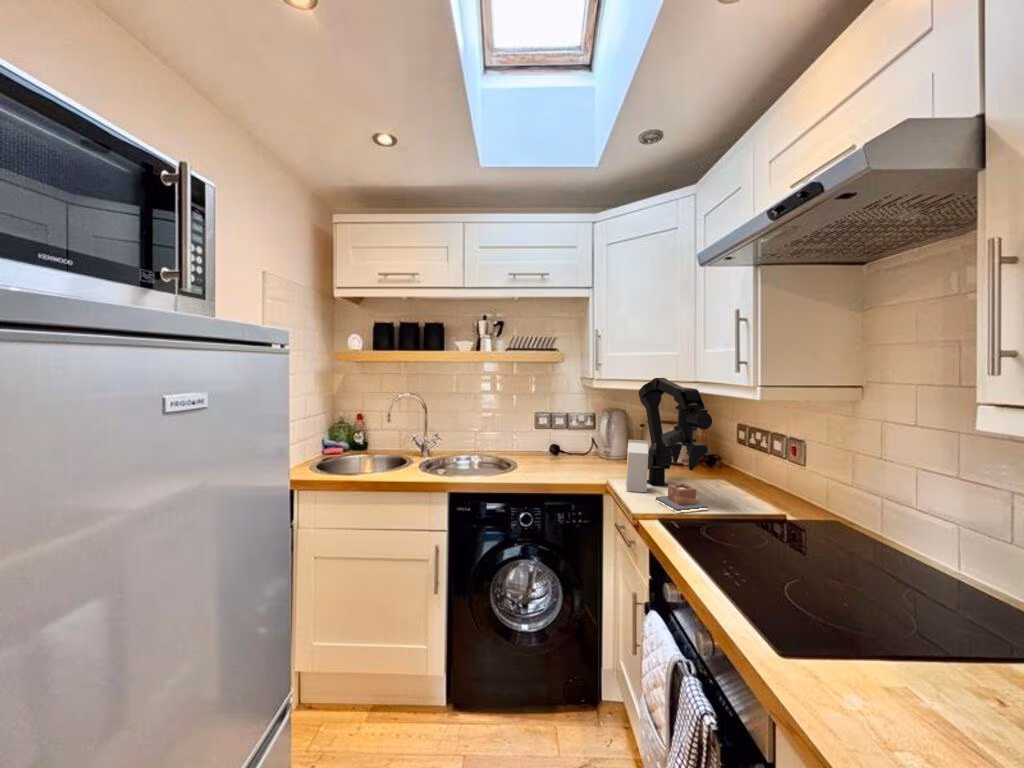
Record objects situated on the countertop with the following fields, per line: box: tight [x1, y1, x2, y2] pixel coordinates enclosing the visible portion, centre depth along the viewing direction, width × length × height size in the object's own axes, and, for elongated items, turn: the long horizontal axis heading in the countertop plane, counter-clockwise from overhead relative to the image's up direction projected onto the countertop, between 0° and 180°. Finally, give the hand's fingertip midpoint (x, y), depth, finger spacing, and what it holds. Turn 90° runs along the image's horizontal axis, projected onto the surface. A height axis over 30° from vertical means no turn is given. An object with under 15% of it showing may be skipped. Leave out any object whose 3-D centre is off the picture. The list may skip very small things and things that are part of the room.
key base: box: [655, 487, 709, 511], centre depth 157 cm, size 12×12×6 cm
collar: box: [667, 483, 697, 505], centre depth 157 cm, size 6×6×5 cm
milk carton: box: [625, 439, 649, 493], centre depth 173 cm, size 7×7×19 cm
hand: (682, 466), depth 165 cm, fingers open, 9 cm apart
